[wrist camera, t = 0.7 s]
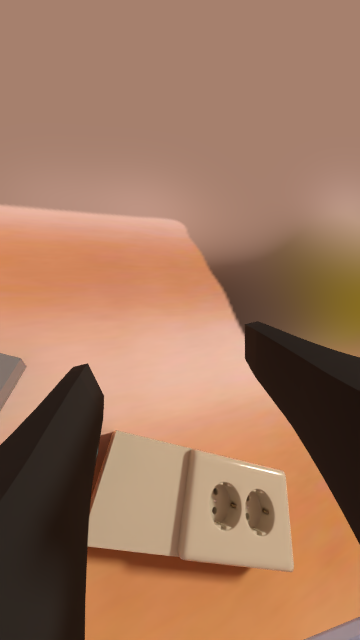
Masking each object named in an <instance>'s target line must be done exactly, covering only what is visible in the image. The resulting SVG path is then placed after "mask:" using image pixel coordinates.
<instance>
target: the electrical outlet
mask: <svg viewBox="0 0 360 640" xmlns="http://www.w3.org/2000/svg"><path fill="white" fill-rule="evenodd" d="M88 547H97V548H105V549H114V550H122V551H131V552H140V553H148V554H157V555H166V556H174V557H175V556H176V557H180V558H181V559H182V560H187V561H196V562H205V563H214V564H223V565H231V566H240V567H249V568H258V569H267V570H276V571H284V572H293V570H294V563H293V552H292V541H291V530H290V519H289V508H288V498H287V487H286V476H285V473H284V471H282V470H279V469H275V468H271V467H267V466H263V465H259V464H254V463H250V462H246V461H242V460H238V459H234V458H230V457H226V456H222V455H218V454H214V453H209V452H205V451H201V450H197V449H191V448H187V447H183V446H179V445H175V444H171V443H167V442H162V441H158V440H154V439H150V438H146V437H142V436H138V435H134V434H130V433H126V432H121V431H117V430H116V431H114V432H113V433H112V436H111V439H110V442H109V445H108V448H107V451H106V455H105V458H104V461H103V464H102V467H101V470H100V473H99V476H98V479H97V482H96V485H95V488H94V491H93V495H92V498H91V502H90V515H89V530H88Z"/></svg>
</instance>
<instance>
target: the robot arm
mask: <svg viewBox="0 0 360 640" xmlns="http://www.w3.org/2000/svg"><path fill="white" fill-rule="evenodd" d="M245 359H246V361H247V363H248V365H249V367H250V368H251V370H252V372H253V374H254V375H255V377H256V378H257V380H258V381H259V382H260V384H261V385H262V386H263V388H264V389H265V390H266V392H267V393H268V394H269V396H270V397H271V398H272V400H273V401H274V402H275V404H276V405H277V406H278V408H279V409H280V410H281V412H282V413H283V414H284V416H285V417H286V418H287V420H288V421H289V423H290V424H291V425H292V427H293V428H294V430H295V431H296V433H297V435H298V436H299V438H300V440H301V441H302V443H303V444H304V446H305V448H306V449H307V451H308V452H309V454H310V456H311V458H312V459H313V461H314V463H315V464H316V466H317V468H318V469H319V471H320V473H321V474H322V476H323V478H324V480H325V481H326V483H327V485H328V487H329V489H330V490H331V492H332V494H333V496H334V497H335V499H336V501H337V503H338V505H339V506H340V508H341V510H342V512H343V514H344V516H345V517H346V519H347V521H348V523H349V525H350V527H351V529H352V531H353V532H354V534H355V536H356V538H357V540H358V542H359V544H360V358H359V357H356V356H352V355H349V354H345V353H342V352H338V351H335V350H332V349H329V348H326V347H324V346H321V345H318V344H315V343H312V342H309V341H307V340H304V339H301V338H298V337H296V336H293V335H291V334H289V333H286V332H283V331H281V330H279V329H276V328H274V327H271V326H269V325H266V324H263V323H261V322H253V323H249V324H245ZM103 410H104V395H103V393H102V391H101V389H100V387H99V385H98V383H97V381H96V379H95V377H94V375H93V373H92V371H91V369H90V367H89V365H88V364H83V365H79V366H75V367H73V368H72V369H71V370H70V371H69V372H68V373H67V374H66V375H65V376H64V378H63V379H62V380H61V381H60V382H59V383H58V384H57V385H56V387H55V388H54V389H53V390H52V391H51V392H50V393H49V395H48V396H47V397H46V398H45V399H44V400H43V401H42V402H41V403H40V405H39V406H38V407H37V408H36V409H35V410H34V411H33V412H32V413H31V414H30V415H29V416H28V417H27V418H26V419H25V421H24V422H23V423H22V424H21V425H20V426H19V427H18V428H17V429H16V430H15V431H14V432H13V433H12V434H11V435H10V436H9V437H8V438H7V439H6V440H5V441H4V442H3V443H2V444H1V445H0V640H85V593H86V567H87V546H88V530H89V515H90V502H91V490H92V482H93V475H94V469H95V463H96V458H97V452H98V446H99V440H100V434H101V428H102V422H103ZM304 640H360V617H358V618H356V619H353V620H351V621H348V622H346V623H343V624H341V625H338V626H336V627H334V628H331V629H329V630H326V631H324V632H321V633H319V634H317V635H314V636H312V637H309V638H307V639H304Z"/></svg>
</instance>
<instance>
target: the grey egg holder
mask: <svg viewBox="0 0 360 640" xmlns="http://www.w3.org/2000/svg"><path fill="white" fill-rule="evenodd" d="M26 367H27V366H26V365H25V364H24V362H23V361H22V359H21V358H17V357H13V356H9V355H5V354H1V353H0V411H1V409H2V407H3V406H4V404H5V402H6V400H7V399H8V397H9V395H10V394H11V392H12V390H13V389H14V387H15V385H16V384H17V382H18V380H19V378H20V377H21V375H22V373H23V372H24V370H25V368H26Z"/></svg>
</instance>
